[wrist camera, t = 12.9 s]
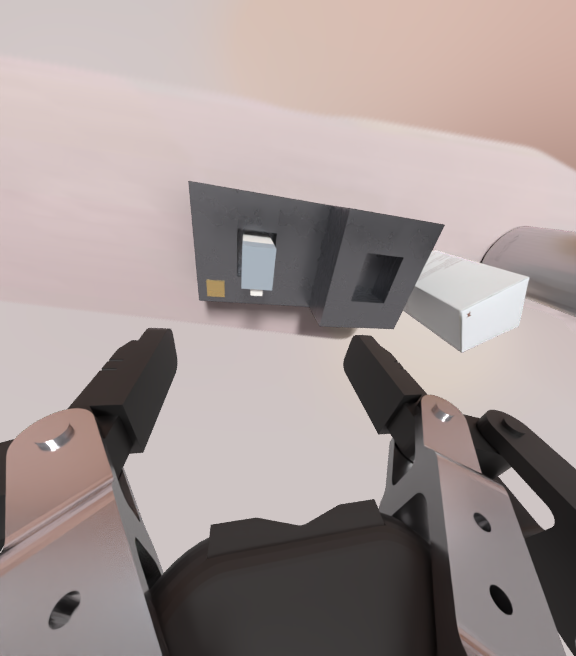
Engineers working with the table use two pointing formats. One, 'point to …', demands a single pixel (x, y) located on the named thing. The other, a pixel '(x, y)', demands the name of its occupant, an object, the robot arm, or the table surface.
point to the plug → (257, 262)
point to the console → (311, 255)
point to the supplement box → (466, 300)
